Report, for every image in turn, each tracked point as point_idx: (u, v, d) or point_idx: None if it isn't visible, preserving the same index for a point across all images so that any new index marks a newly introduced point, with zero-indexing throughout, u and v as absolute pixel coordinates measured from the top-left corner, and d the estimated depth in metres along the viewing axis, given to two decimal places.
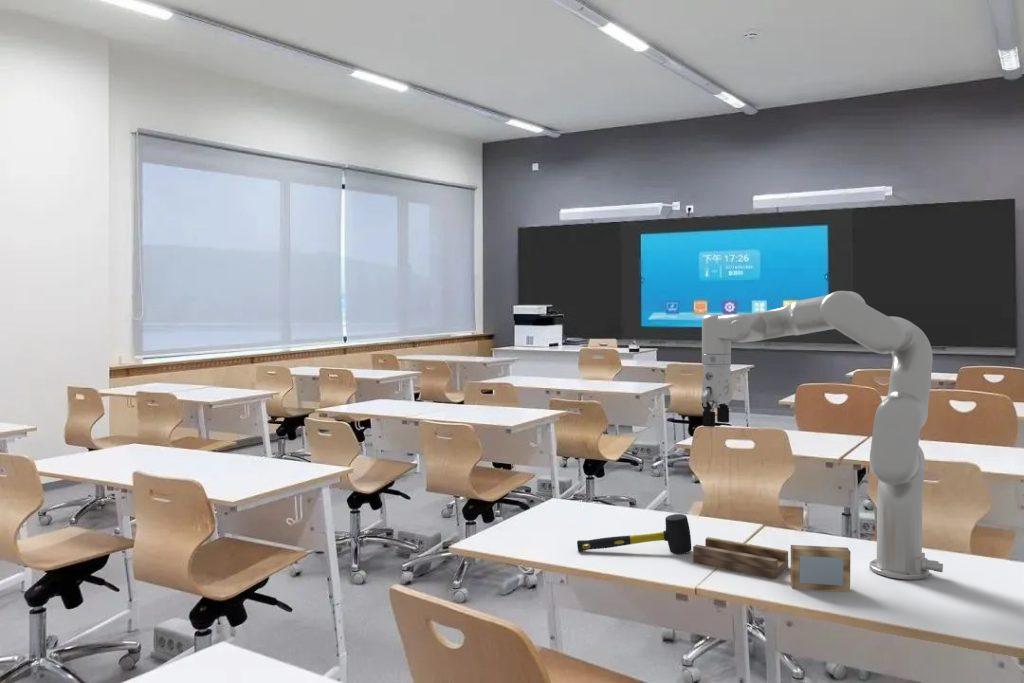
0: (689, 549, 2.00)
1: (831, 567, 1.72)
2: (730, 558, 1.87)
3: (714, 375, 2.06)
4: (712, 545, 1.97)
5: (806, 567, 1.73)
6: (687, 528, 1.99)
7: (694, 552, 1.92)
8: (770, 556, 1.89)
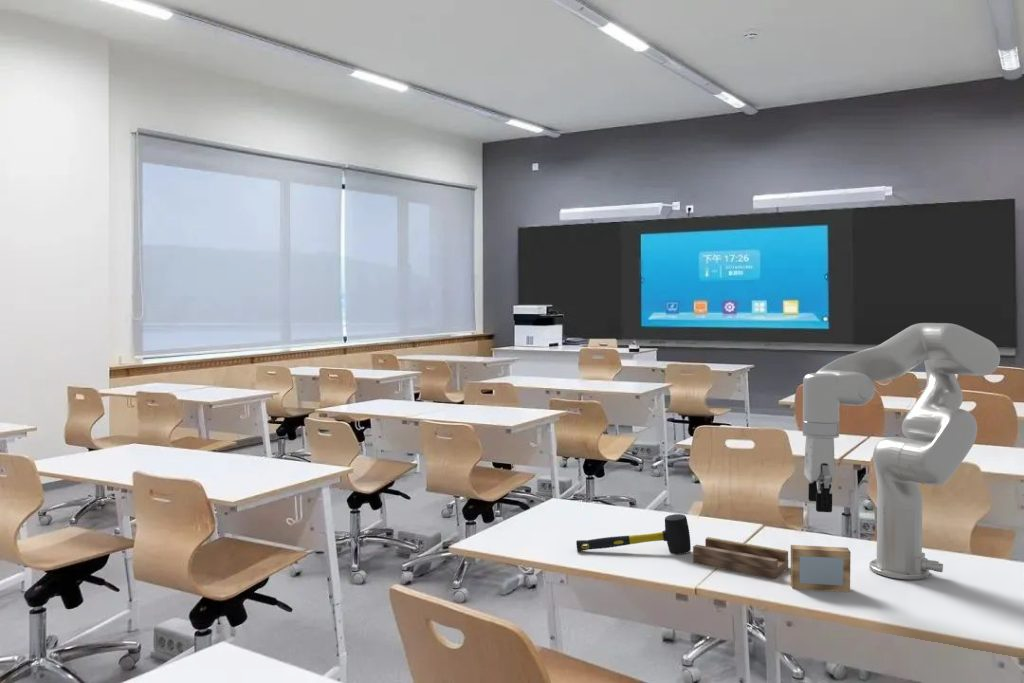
0: (688, 549, 2.00)
1: (831, 567, 1.72)
2: (730, 558, 1.87)
3: None
4: (712, 545, 1.97)
5: (806, 567, 1.73)
6: (686, 528, 1.99)
7: (694, 552, 1.92)
8: (770, 556, 1.89)
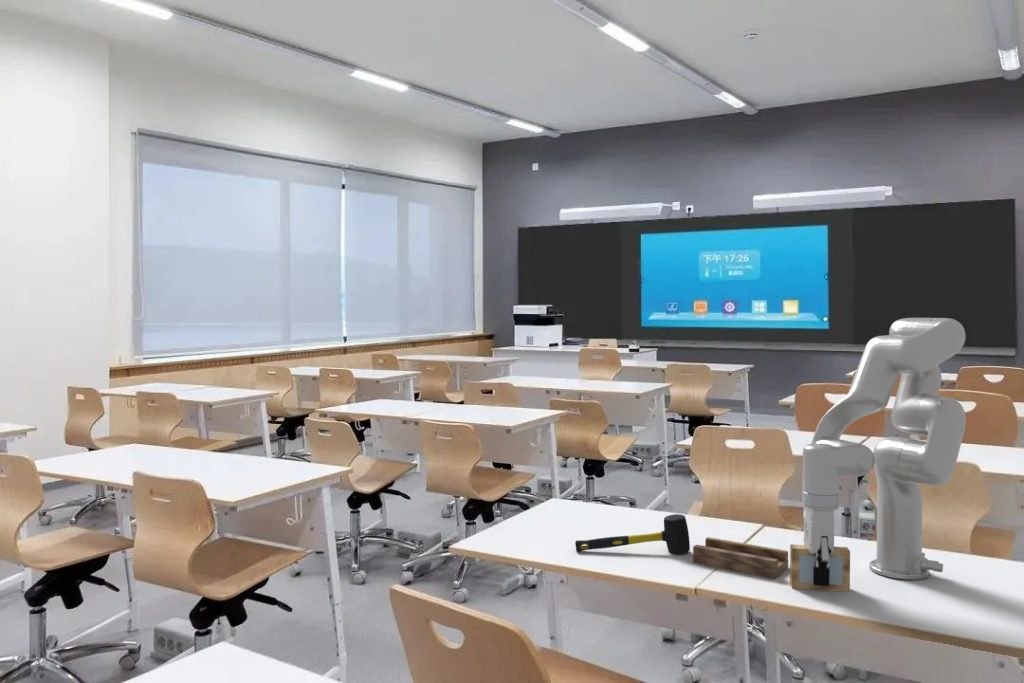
0: (687, 549, 1.99)
1: (831, 567, 1.72)
2: (730, 558, 1.87)
3: None
4: (712, 545, 1.97)
5: (806, 567, 1.73)
6: (685, 528, 1.99)
7: (694, 552, 1.92)
8: (770, 556, 1.89)
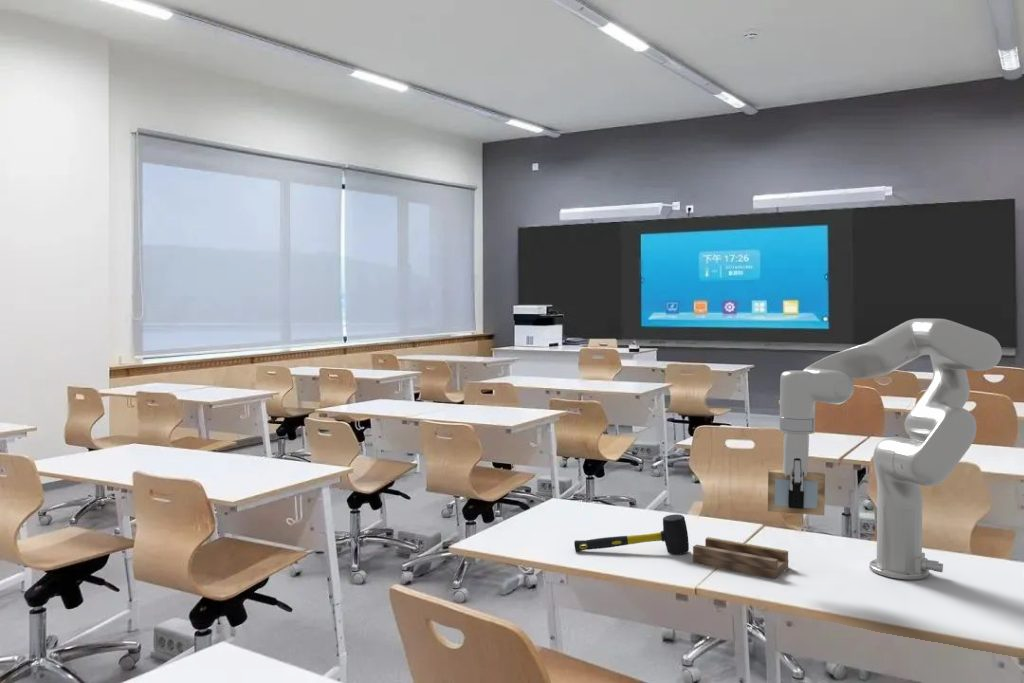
0: (686, 550, 1.99)
1: (806, 490, 1.76)
2: (730, 558, 1.87)
3: None
4: (712, 545, 1.97)
5: (781, 490, 1.78)
6: (684, 529, 1.99)
7: (694, 552, 1.92)
8: (770, 556, 1.89)
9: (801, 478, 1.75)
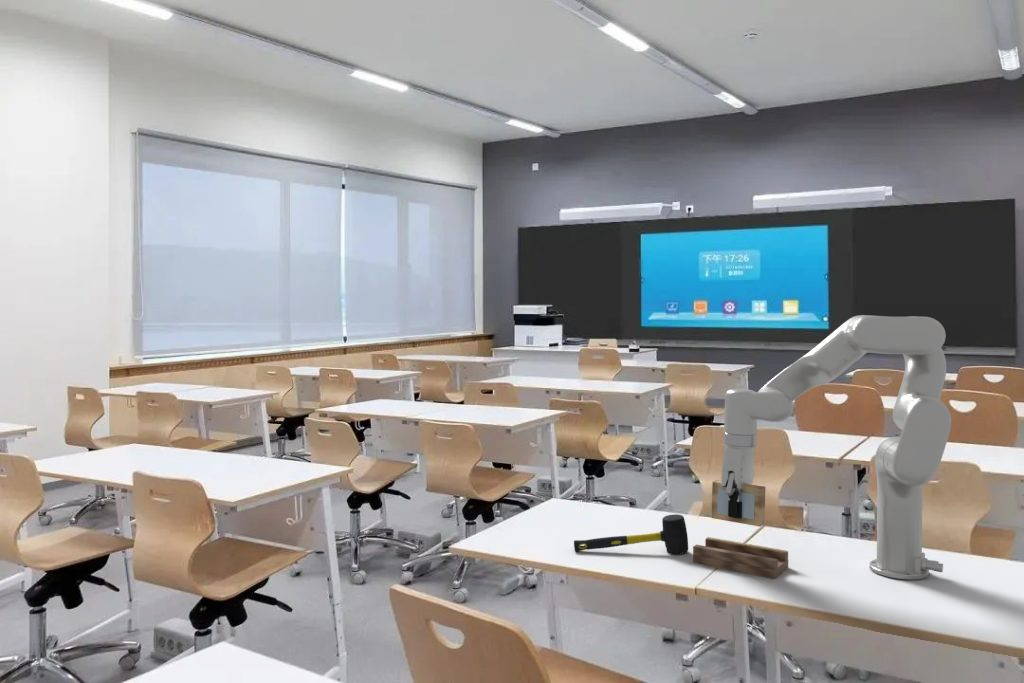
0: (686, 550, 1.99)
1: (744, 501, 1.87)
2: (730, 558, 1.87)
3: None
4: (712, 545, 1.97)
5: (723, 499, 1.91)
6: (684, 528, 1.99)
7: (694, 552, 1.92)
8: (770, 556, 1.89)
9: (738, 490, 1.87)
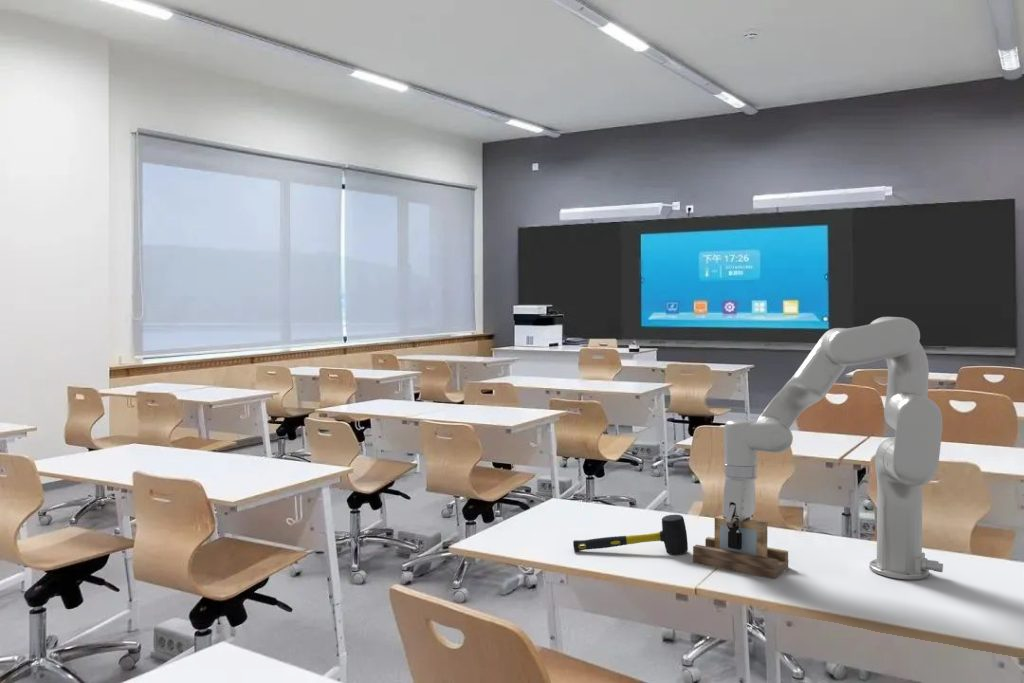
0: (685, 550, 1.99)
1: (746, 538, 1.88)
2: (730, 558, 1.87)
3: None
4: (712, 545, 1.97)
5: (725, 535, 1.91)
6: (683, 529, 1.99)
7: (694, 552, 1.92)
8: (770, 556, 1.89)
9: (738, 520, 1.86)
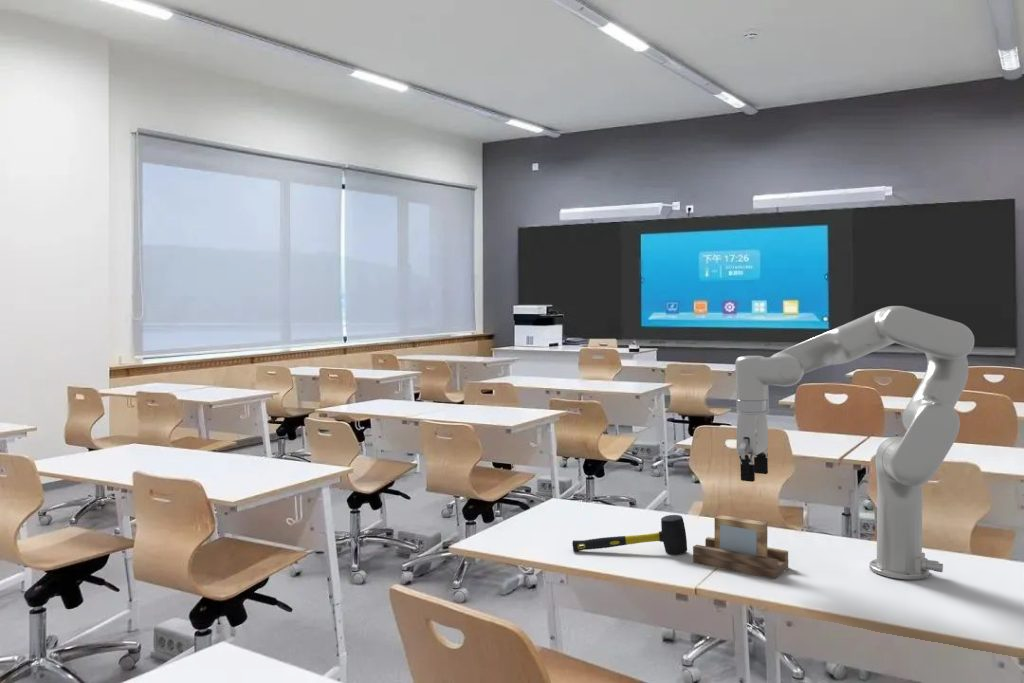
0: (685, 550, 1.99)
1: (746, 538, 1.88)
2: (730, 558, 1.87)
3: None
4: (712, 545, 1.97)
5: (725, 535, 1.91)
6: (683, 529, 1.99)
7: (694, 552, 1.92)
8: (770, 556, 1.89)
9: (751, 452, 1.86)
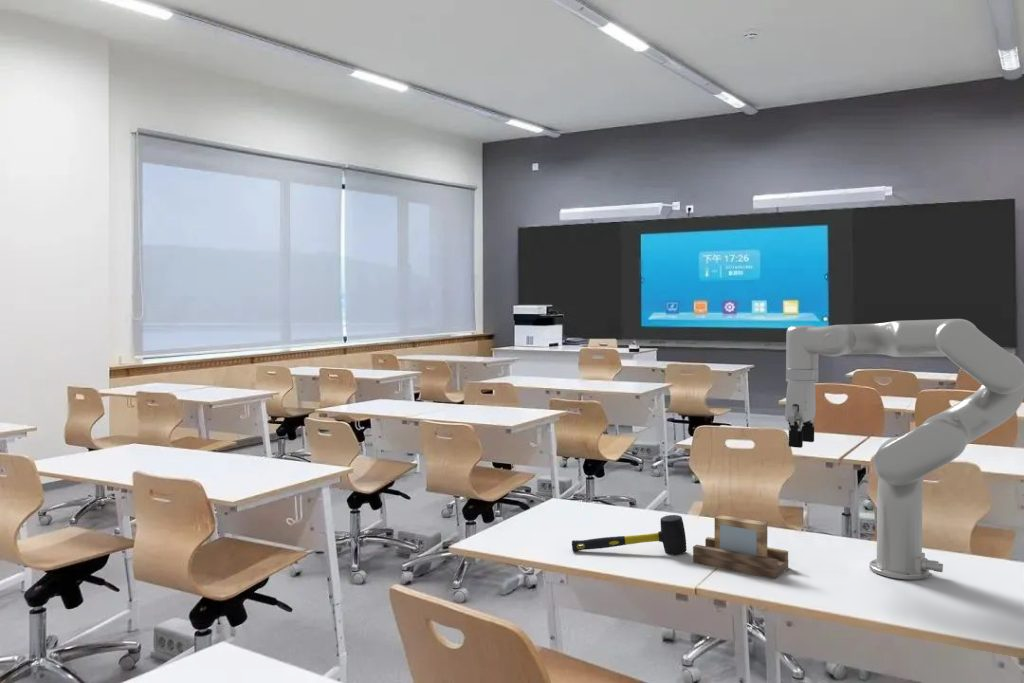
0: (684, 550, 1.99)
1: (746, 538, 1.88)
2: (730, 558, 1.87)
3: None
4: (712, 545, 1.97)
5: (725, 535, 1.91)
6: (682, 529, 1.99)
7: (694, 552, 1.92)
8: (770, 556, 1.89)
9: (800, 419, 1.91)
